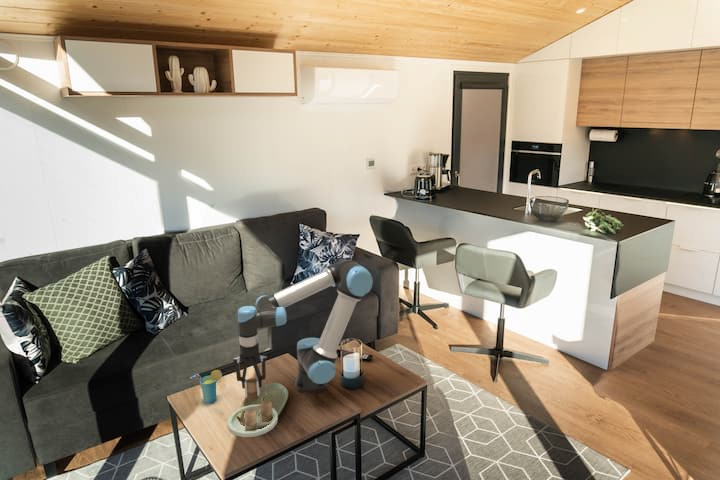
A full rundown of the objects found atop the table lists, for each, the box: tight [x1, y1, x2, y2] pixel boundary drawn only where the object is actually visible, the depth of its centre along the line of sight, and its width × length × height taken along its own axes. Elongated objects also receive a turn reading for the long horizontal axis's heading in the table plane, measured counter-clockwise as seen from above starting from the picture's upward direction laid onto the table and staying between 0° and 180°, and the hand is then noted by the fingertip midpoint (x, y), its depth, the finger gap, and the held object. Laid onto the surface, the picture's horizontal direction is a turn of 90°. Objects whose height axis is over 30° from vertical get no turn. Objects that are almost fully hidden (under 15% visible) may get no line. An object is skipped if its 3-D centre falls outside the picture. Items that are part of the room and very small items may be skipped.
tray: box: [227, 403, 279, 438], centre depth 204 cm, size 20×20×2 cm
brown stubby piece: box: [246, 377, 260, 402], centre depth 207 cm, size 5×5×8 cm
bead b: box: [244, 410, 257, 431], centre depth 198 cm, size 5×5×8 cm
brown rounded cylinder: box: [259, 400, 273, 422], centre depth 204 cm, size 5×5×8 cm
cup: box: [189, 369, 223, 405], centre depth 219 cm, size 14×8×15 cm, turn 128°
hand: (252, 394), depth 207 cm, fingers closed on brown stubby piece, 4 cm apart
